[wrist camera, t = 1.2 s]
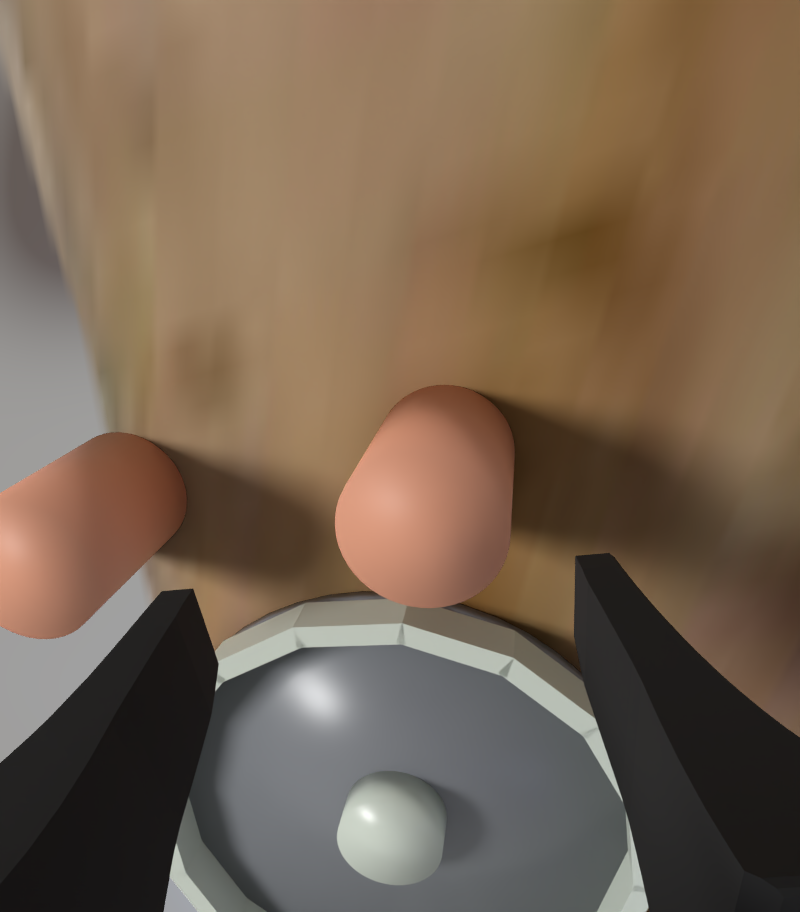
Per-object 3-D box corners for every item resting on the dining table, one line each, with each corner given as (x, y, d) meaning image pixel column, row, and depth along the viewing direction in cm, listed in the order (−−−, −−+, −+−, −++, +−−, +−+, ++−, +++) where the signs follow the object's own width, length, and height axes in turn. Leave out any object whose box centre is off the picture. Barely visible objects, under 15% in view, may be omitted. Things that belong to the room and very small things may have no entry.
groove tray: (729, 907, 29) (744, 962, 27) (329, 1007, 35) (317, 1058, 33) (495, 507, 25) (492, 537, 23) (86, 698, 31) (54, 734, 29)
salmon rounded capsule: (539, 479, 24) (542, 567, 19) (421, 534, 26) (391, 632, 20) (472, 359, 23) (454, 416, 18) (353, 424, 25) (302, 495, 19)
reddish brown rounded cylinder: (210, 516, 27) (127, 604, 21) (119, 565, 28) (18, 659, 23) (137, 410, 26) (29, 474, 20) (46, 466, 27) (-78, 540, 22)
